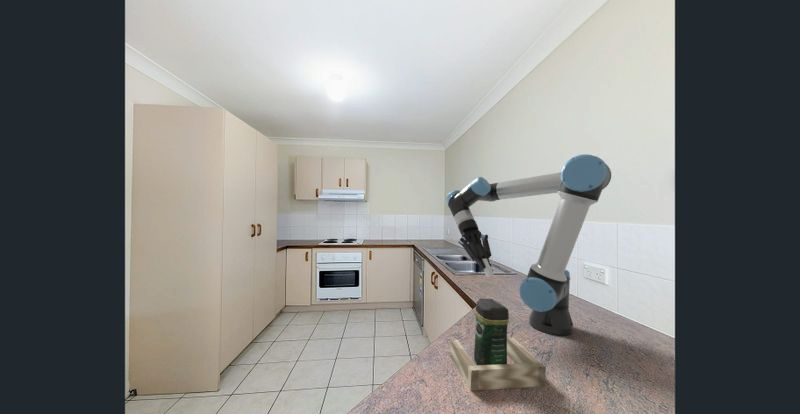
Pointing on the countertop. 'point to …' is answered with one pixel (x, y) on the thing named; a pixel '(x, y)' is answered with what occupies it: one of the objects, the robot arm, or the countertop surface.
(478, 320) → the coffee jar
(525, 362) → the u-shaped wooden molding
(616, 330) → the countertop surface
